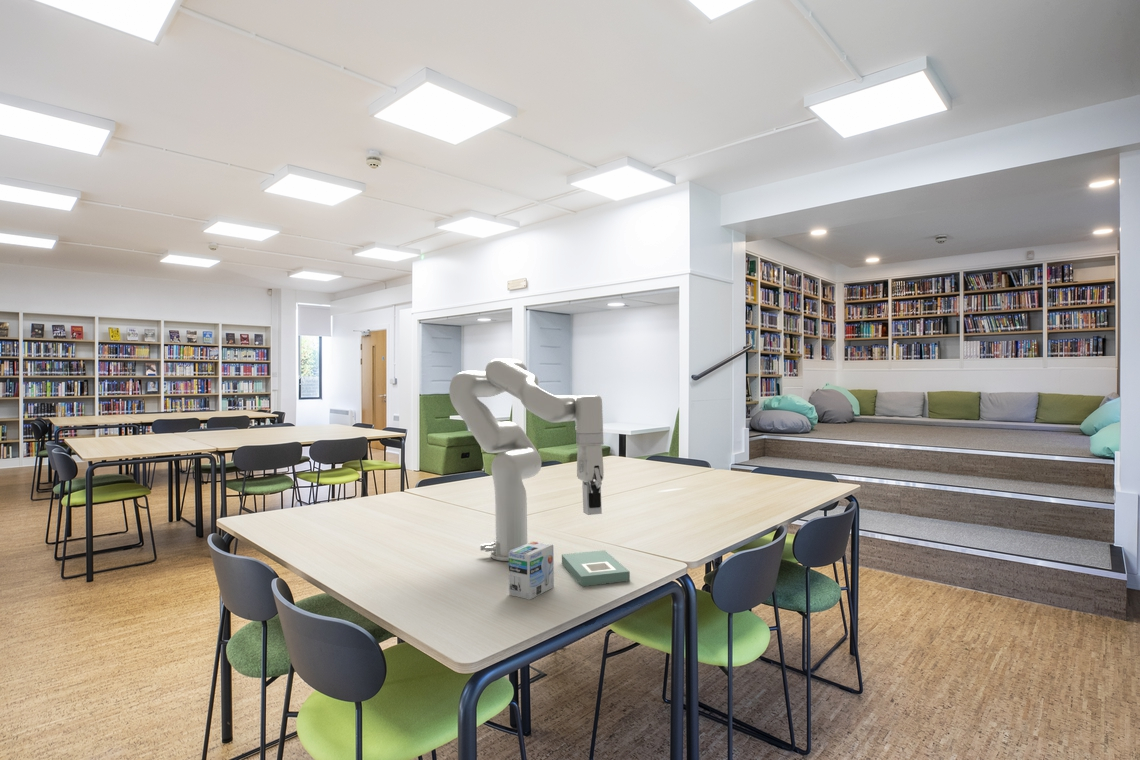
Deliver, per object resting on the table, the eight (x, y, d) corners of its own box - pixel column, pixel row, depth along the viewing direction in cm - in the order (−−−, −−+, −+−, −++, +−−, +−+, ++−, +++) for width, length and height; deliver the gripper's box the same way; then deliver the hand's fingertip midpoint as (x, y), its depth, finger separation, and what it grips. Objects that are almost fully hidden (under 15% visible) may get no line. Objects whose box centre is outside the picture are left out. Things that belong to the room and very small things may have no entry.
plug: (587, 515, 152) (586, 485, 152) (583, 512, 156) (582, 483, 156) (603, 513, 153) (602, 484, 154) (598, 510, 157) (597, 482, 158)
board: (581, 586, 141) (581, 576, 141) (561, 563, 160) (561, 554, 161) (629, 581, 145) (629, 571, 145) (604, 558, 164) (604, 550, 164)
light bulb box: (530, 600, 133) (529, 554, 133) (507, 595, 136) (507, 550, 136) (555, 586, 142) (554, 543, 142) (533, 582, 145) (532, 540, 145)
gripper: (568, 438, 162) (570, 502, 162) (586, 442, 146) (588, 513, 146) (592, 437, 164) (595, 499, 164) (613, 441, 148) (615, 510, 148)
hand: (592, 505), depth 155 cm, fingers closed on plug, 4 cm apart
